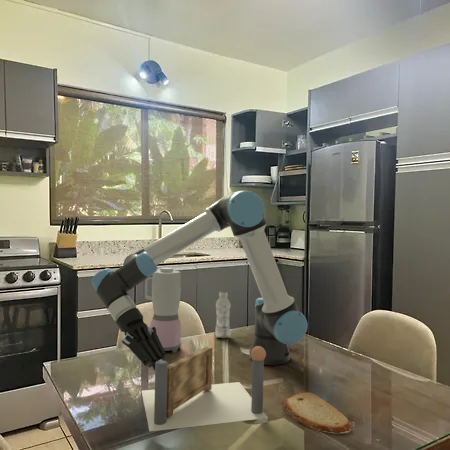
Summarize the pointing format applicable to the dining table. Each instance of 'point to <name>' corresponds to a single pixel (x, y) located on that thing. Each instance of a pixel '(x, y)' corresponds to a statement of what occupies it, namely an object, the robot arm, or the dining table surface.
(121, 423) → the dining table surface
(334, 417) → the slice of bread
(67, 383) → the dining table surface
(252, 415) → the gate frame
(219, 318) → the plastic bottle
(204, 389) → the gate
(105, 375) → the dining table surface
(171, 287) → the blender
